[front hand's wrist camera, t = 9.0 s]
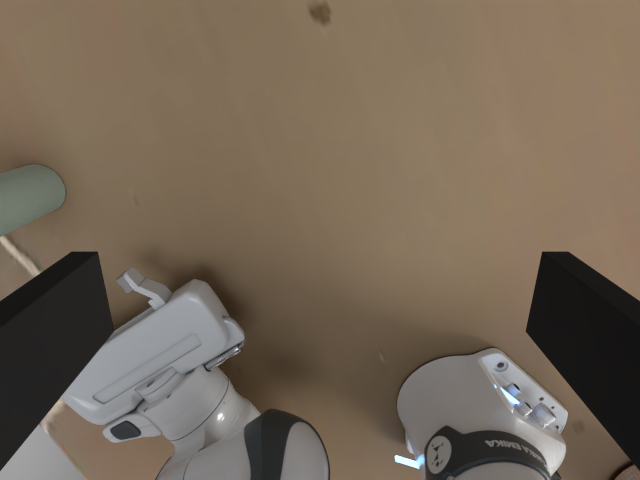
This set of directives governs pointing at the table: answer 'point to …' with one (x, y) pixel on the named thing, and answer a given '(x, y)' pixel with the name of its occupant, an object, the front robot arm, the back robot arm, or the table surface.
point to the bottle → (28, 195)
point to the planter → (629, 473)
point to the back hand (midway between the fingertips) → (89, 296)
